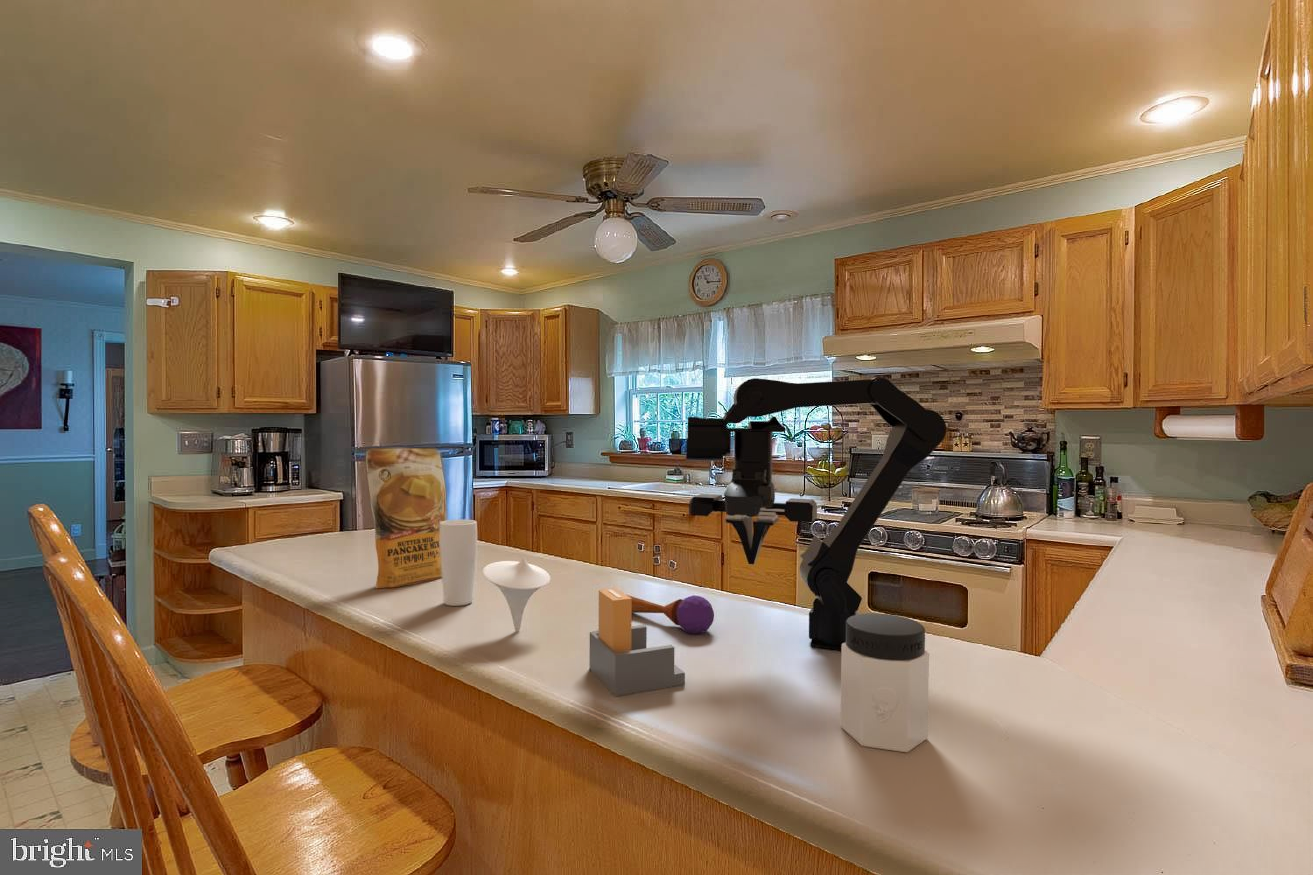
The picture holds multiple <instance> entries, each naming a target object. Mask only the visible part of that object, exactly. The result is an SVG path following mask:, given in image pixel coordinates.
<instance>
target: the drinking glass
mask: <svg viewBox="0 0 1313 875" xmlns="http://www.w3.org/2000/svg"><path fill="white" fill-rule="evenodd" d="M439 550H440V561H441V572H442V578H441V580H442V592H443V593H442V601H443V604H444V605H446V606H450V607H461V606H467V605H469V604H472V603H473V601H474V589H475V588H474V587H475V575H476V574H475V573H476V565H477V564H476V563H477V550H478V521H477V520H473V519H463V518H462V519H460V518H458V519H449V520H447V521H442V522H440V523H439Z"/></svg>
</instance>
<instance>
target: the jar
mask: <svg viewBox="0 0 1313 875" xmlns="http://www.w3.org/2000/svg"><path fill="white" fill-rule="evenodd" d="M840 651H841V653H840V654H841V656H840V657H841V658H840V662H841V663H840V727H841V728H842V729H843V730H844V731H845V732H846V733H847V734H848V735H849V736H850V737H851V738H852V739H854V740H855V741H856V742H857V743H858V744H859V745H860V746H861V747H864V748H865V747H866V748H872V749H879V750H887V751H893V752H899V753H906V754H907V753H909V752H910V751H912V750H913V749H914V748H916V747H917V746H919V745H920V744H922V743H923V742H924V741H926V740H927V739H928V738H929V692H930V691H929V685H930V684H929V681H930V680H929V677H930V673H929V672H930V652H928V651H927V650H926V629H925V626H924V625H923V624H921V623H920V622H918V621H916V620H914V619H911V618H909V617H905V616H901V615H900V616H899V615H895V614H888V613H876V612H873V613H872V612H871V613H870V612H869V613H859V614H858V613H857V615H854V616H851V617H849V618H848V619H847V620H846V642H845V643H842V646H841V650H840Z"/></svg>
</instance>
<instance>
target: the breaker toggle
mask: <svg viewBox="0 0 1313 875" xmlns="http://www.w3.org/2000/svg"><path fill="white" fill-rule="evenodd" d="M627 595H628V594H626V593H624V592H622V591H621V590H619V589H618V588H617V587H615V588H608V589H606V588H605V589H599V590H598V631H599V637H600V638H601V639H602V640H603V641H604V642H605V643H606V644H607V645H608V646H610V647H611V648H612V649H613V650H614V651H615V652H616V653H618V652H625V651H631V627H632V615H633V613H632V598H630V597H629V596H630V595H629V596H627Z"/></svg>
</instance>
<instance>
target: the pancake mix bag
mask: <svg viewBox="0 0 1313 875" xmlns="http://www.w3.org/2000/svg"><path fill="white" fill-rule="evenodd" d="M437 450H438V448H437V447H379V448H378V447H377V448H370V449H368V450H367V451H366V452H364V454H365V455H364V458H365V460H364V462H365V471H366V472H365V473H366V479H367V485H368V492H369V502H370V505H369V506H370V508H371V513H372V514H371V515H372V518H373V523H374V534H375V535H374V536H375V537H374V539H375V540H374V541H375V551H376V555H377V564H378V566H377V567H378V568H377V576H376V581H375V586H374V588H375V589H393V588H398V587H403V586H404V587H405V586H410V585H415V584H419V583H424V582H428V581H429V582H430V581H434V580H438V579H442V572H441V561H440V550H439V523H440V522H442V521H447V518H448V517H447V516H448V515H447V514H448V504H447V486H446V478H445V473H444V472H445V471H444V462H443V457H442V452H441V451H437Z"/></svg>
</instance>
